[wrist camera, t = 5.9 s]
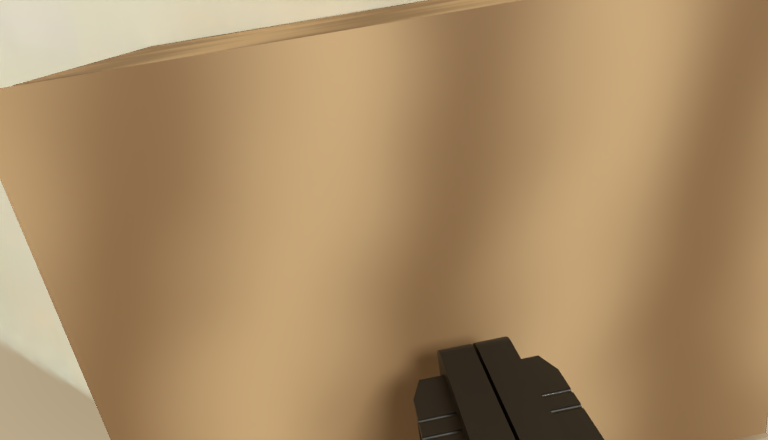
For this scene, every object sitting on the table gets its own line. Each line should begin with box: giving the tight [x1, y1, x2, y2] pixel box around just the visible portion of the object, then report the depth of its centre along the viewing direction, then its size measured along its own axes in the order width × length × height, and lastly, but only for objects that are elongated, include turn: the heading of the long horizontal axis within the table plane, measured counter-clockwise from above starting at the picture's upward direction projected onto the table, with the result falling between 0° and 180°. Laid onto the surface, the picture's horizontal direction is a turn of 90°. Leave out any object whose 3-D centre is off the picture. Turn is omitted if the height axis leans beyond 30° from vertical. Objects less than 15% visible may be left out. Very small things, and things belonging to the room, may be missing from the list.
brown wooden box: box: [13, 0, 521, 86], centre depth 18 cm, size 16×14×10 cm
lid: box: [0, 0, 768, 440], centre depth 13 cm, size 16×14×1 cm
